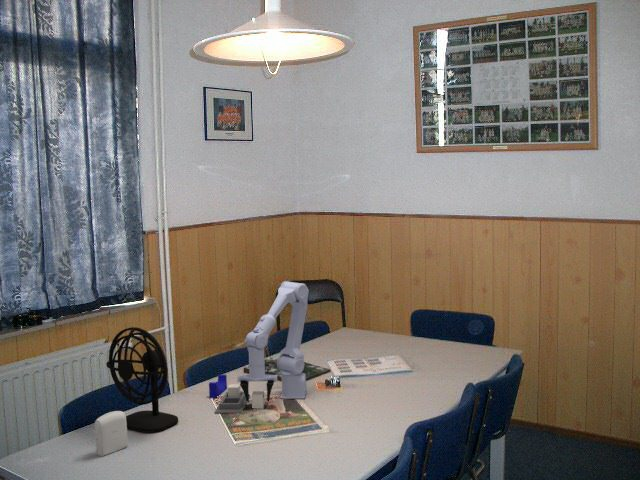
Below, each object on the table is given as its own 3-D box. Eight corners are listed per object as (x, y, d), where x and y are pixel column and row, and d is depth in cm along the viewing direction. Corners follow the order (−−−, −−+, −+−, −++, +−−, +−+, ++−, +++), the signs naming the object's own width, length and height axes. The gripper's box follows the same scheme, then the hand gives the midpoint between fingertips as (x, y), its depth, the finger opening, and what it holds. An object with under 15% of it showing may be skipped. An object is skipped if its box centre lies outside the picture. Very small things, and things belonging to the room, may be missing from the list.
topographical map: (296, 386, 293) (296, 379, 292) (239, 373, 313) (239, 366, 313) (335, 371, 313) (335, 364, 312) (279, 359, 333) (279, 353, 333)
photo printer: (102, 457, 224) (99, 418, 223) (94, 454, 227) (92, 416, 226) (130, 447, 232) (128, 409, 231) (122, 444, 235) (120, 407, 233)
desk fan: (99, 426, 252) (93, 327, 248) (136, 410, 266) (131, 317, 263) (157, 439, 238) (151, 335, 234) (192, 422, 252) (188, 324, 249)
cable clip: (216, 388, 291) (215, 374, 290) (227, 389, 290) (226, 374, 289) (205, 398, 279) (205, 383, 278) (216, 398, 278) (216, 383, 278)
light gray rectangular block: (264, 405, 269) (264, 391, 268) (263, 409, 265) (262, 394, 264) (253, 405, 269) (253, 391, 268) (252, 409, 265) (251, 394, 264)
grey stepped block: (250, 395, 280) (249, 380, 280) (242, 413, 260) (241, 397, 260) (224, 395, 281) (224, 380, 280) (214, 413, 261) (213, 397, 260)
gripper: (235, 367, 261) (236, 404, 263) (275, 367, 261) (276, 403, 262) (238, 362, 268) (239, 397, 270) (277, 362, 268) (278, 397, 269)
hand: (258, 400), depth 266 cm, fingers open, 7 cm apart
